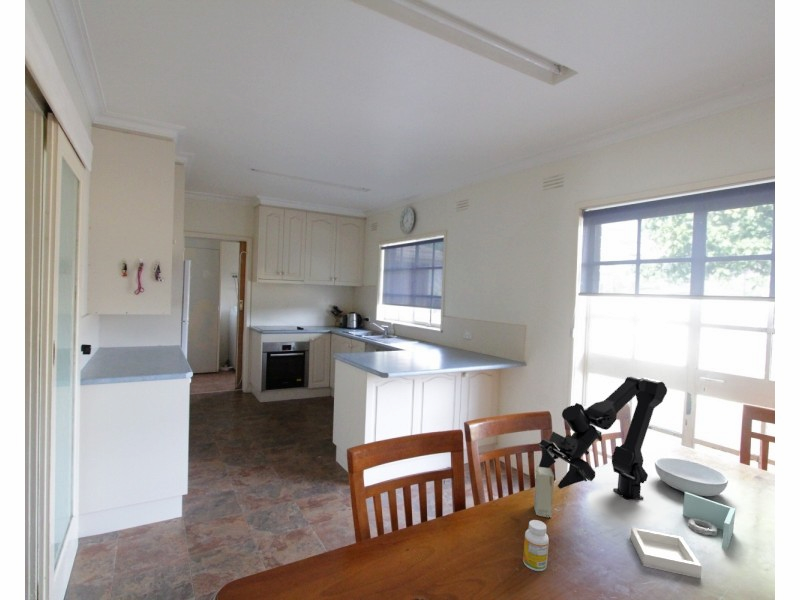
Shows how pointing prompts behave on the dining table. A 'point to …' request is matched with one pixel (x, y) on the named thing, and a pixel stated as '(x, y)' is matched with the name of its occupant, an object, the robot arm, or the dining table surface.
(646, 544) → the holder tray
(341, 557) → the dining table surface
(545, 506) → the skincare box
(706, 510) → the right angle wall
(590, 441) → the robot arm
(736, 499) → the dining table surface
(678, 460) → the serving bowl
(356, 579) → the dining table surface
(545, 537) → the supplement bottle
